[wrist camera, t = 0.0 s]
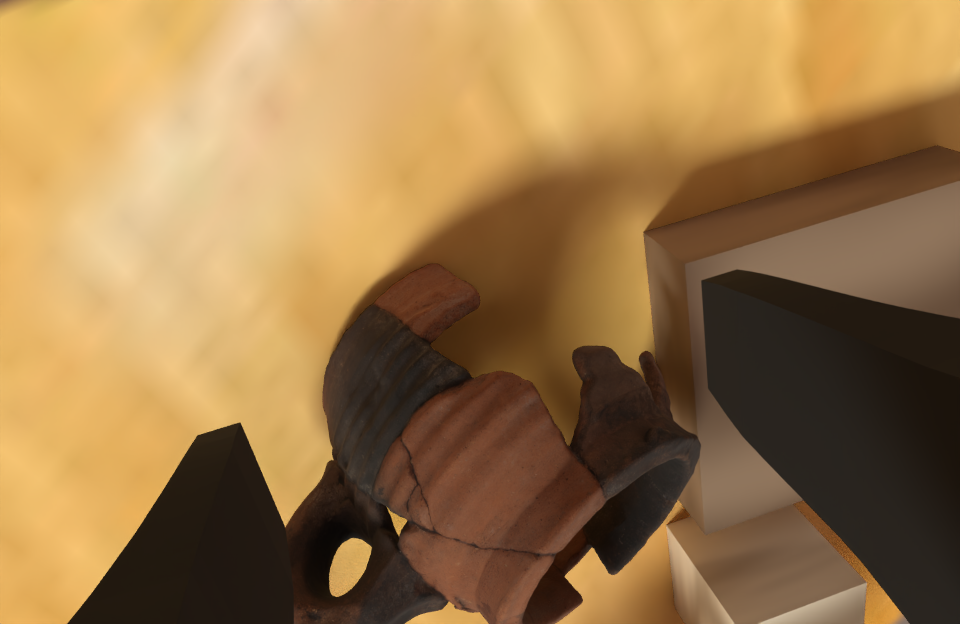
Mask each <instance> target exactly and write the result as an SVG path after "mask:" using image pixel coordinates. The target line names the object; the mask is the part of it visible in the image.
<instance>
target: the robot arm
mask: <svg viewBox="0 0 960 624" xmlns="http://www.w3.org/2000/svg"><path fill="white" fill-rule="evenodd" d="M701 287H702V303H703V319H704V334H705V350H706V366H707V382H708V389H709V391H710V392H711V394H712V395H713V396H714V398H715V399H716V401H717V402H718V404H719V405H720V407H721V408H722V409H723V411H724V412H725V414H726V415H727V417H728V418H729V419H730V421H731V422H732V423H733V425H734V426H735V427H736V429H737V430H738V431H739V433H740V434H741V435H742V437H743V438H744V439H745V440H746V441H747V442H748V443H749V444H750V445H751V446H752V447H753V448H754V449H755V450H756V451H757V453H758V454H759V455H760V456H761V457H762V458H763V459H764V460H765V461H766V462H767V463H768V464H769V465H770V466H771V467H772V468H773V469H774V470H775V471H776V472H777V473H778V474H779V476H780V477H781V478H782V479H783V480H784V481H785V482H786V483H787V484H788V485H789V486H790V487H791V488H792V489H793V490H794V491H795V492H796V493H797V494H798V495H799V496H800V497H801V498H802V499H803V500H804V501H805V502H806V503H807V504H808V505H809V506H810V507H811V508H812V509H813V510H814V511H815V512H816V513H817V514H818V516H819V517H820V518H821V519H822V520H823V521H824V522H825V523H826V524H827V525H828V526H829V527H830V528H831V529H832V530H833V531H834V532H835V533H836V534H837V535H838V536H839V537H840V538H841V539H842V540H843V542H844V543H845V544H846V545H847V546H848V547H849V548H850V549H851V551H852V552H853V553H854V554H855V555H856V556H857V557H858V558H859V559H860V561H861V562H862V563H863V564H864V566H865V567H866V568H867V569H868V571H869V572H870V573H871V575H872V576H873V577H874V578H875V580H876V581H877V582H878V583H879V585H880V586H881V587H882V588H883V590H884V591H885V592H886V594H887V595H888V596H889V597H890V599H891V600H892V601H893V602H894V604H895V605H896V606H897V608H898V609H899V610H900V611H901V613H902V614H903V615H904V617H905V618H906V619H907V621H908V622H909V623H910V624H960V318H955V317H949V316H944V315H939V314H934V313H929V312H924V311H919V310H914V309H909V308H904V307H899V306H895V305H890V304H886V303H881V302H877V301H872V300H868V299H864V298H860V297H856V296H852V295H848V294H844V293H839V292H836V291H832V290H828V289H824V288H820V287H816V286H812V285H808V284H804V283H800V282H796V281H792V280H788V279H784V278H780V277H775V276H771V275H767V274H762V273H757V272H752V271H745V270H738V269H736V270H733V271H730V272H727V273H723V274H720V275H717V276H714V277H710V278H707V279H704V280H701ZM67 624H294V588H293V581H292V573H291V565H290V557H289V550H288V543H287V537H286V530H285V526H284V524H283V521H282V519H281V517H280V514H279V512H278V510H277V507H276V505H275V502H274V500H273V498H272V495H271V493H270V491H269V488H268V486H267V484H266V481H265V479H264V477H263V474H262V472H261V470H260V467H259V465H258V463H257V460H256V458H255V456H254V453H253V451H252V449H251V446H250V444H249V441H248V439H247V437H246V434H245V432H244V430H243V427H242V425H241V423H236V424H233V425H230V426H227V427H223V428H220V429H217V430H214V431H210V432H207V433H204V434H201V435H198V436H197V437H196V439H195V440H194V442H193V443H192V445H191V446H190V448H189V449H188V451H187V453H186V454H185V456H184V457H183V459H182V461H181V462H180V464H179V466H178V467H177V469H176V470H175V472H174V474H173V475H172V477H171V478H170V480H169V482H168V483H167V485H166V487H165V488H164V490H163V491H162V493H161V494H160V496H159V497H158V499H157V501H156V502H155V504H154V505H153V507H152V508H151V510H150V511H149V513H148V514H147V516H146V518H145V519H144V521H143V522H142V524H141V525H140V527H139V528H138V530H137V531H136V533H135V534H134V536H133V537H132V539H131V540H130V541H129V543H128V544H127V545H126V547H125V548H124V550H123V551H122V552H121V554H120V555H119V556H118V558H117V559H116V561H115V562H114V563H113V565H112V566H111V568H110V569H109V570H108V572H107V573H106V574H105V576H104V577H103V579H102V580H101V581H100V583H99V584H98V585H97V587H96V588H95V590H94V591H93V592H92V594H91V595H90V596H89V597H88V599H87V600H86V601H85V602H84V604H83V605H82V606H81V608H80V609H79V610H78V611H77V612H76V614H75V615H74V616H73V617H72V619H71V620H70V621H69V622H68V623H67Z"/></svg>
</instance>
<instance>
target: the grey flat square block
mask: <svg viewBox="0 0 960 624" xmlns="http://www.w3.org/2000/svg"><path fill="white" fill-rule="evenodd" d="M643 233H644V243H645V253H646V263H647V273H648V283H649V293H650V303H651V313H652V323H653V333H654V343H655V353H656V363H657V366H658V368H659V370H660V372H661V373H662V376H663V379H664V382H665V386H666V390H667V393H668V395H669V399H670V402H671V404H670V411H671V413H672V415H673V420H674V421H675V422H676V423H677V424H678V425H679V426H681V427H682V428H683V429H684V430H686V431H688V432H690V433H693V434H695V435H696V436H697V437H698V439H699V441H700V443H701V450H700V457H699V459H698V462H697V464H696V466H695V470H694V473H693V475H692V476H691V478H690V480H689V481H688V483H687V485H686V486H685V488H684V490H683V491H682V493H681V495H680V497H679V498H678V500H679V501H680V502H681V504H682V505H683V506H684V508H685V509H686V510H687V512H688V513H689V514H690V516H691V517H692V518H693V520H694V521H695V522H696V524H697V525H698V526H699V528H700V529H701V530H702V532H703V533H704V534H705V535H708V534H711V533H713V532H716V531H719V530H722V529H725V528H727V527H730V526H733V525H736V524H739V523H741V522H744V521H747V520H750V519H753V518H755V517H758V516H761V515H764V514H767V513H769V512H772V511H775V510H778V509H781V508H783V507H786V506H789V505H792V504H795V503H798V502H800V501H803V499H802V498H801V497H800V496H799V495H798V494H797V493H796V492H795V491H794V490H793V489H792V488H791V487H790V486H789V485H788V484H787V483H786V482H785V481H784V480H783V479H782V478H781V477H780V476H779V474H778V473H777V472H776V471H775V470H774V469H773V468H772V467H771V466H770V465H769V464H768V463H767V462H766V461H765V460H764V459H763V458H762V457H761V456H760V455H759V454H758V453H757V451H756V450H755V449H754V448H753V447H752V446H751V445H750V444H749V443H748V442H747V441H746V440H745V439H744V438H743V437H742V435H741V434H740V433H739V431H738V430H737V429H736V427H735V426H734V425H733V423H732V422H731V421H730V419H729V418H728V417H727V415H726V414H725V412H724V411H723V409H722V408H721V407H720V405H719V404H718V402H717V401H716V399H715V398H714V396H713V395H712V394H711V392H710V391H709V389H708V382H707V366H706V350H705V334H704V319H703V303H702V287H701V280H704V279H707V278H710V277H714V276H717V275H720V274H723V273H727V272H730V271H733V270H736V269H738V270H745V271H752V272H757V273H762V274H767V275H771V276H775V277H780V278H784V279H788V280H792V281H796V282H800V283H804V284H808V285H812V286H816V287H820V288H824V289H828V290H832V291H836V292H839V293H844V294H848V295H852V296H856V297H860V298H864V299H868V300H872V301H877V302H881V303H886V304H890V305H895V306H899V307H904V308H909V309H914V310H919V311H924V312H929V313H934V314H939V315H944V316H949V317H955V318H960V152H957V151H954V150H951V149H947V148H944V147H941V146H938V145H937V146H933V147H930V148H927V149H923V150H920V151H917V152H913V153H910V154H906V155H903V156H900V157H896V158H893V159H889V160H886V161H883V162H879V163H876V164H873V165H869V166H866V167H862V168H859V169H856V170H852V171H849V172H845V173H842V174H839V175H835V176H832V177H829V178H825V179H822V180H818V181H815V182H812V183H808V184H805V185H801V186H798V187H795V188H791V189H788V190H785V191H781V192H778V193H774V194H771V195H768V196H764V197H761V198H757V199H754V200H751V201H747V202H744V203H741V204H737V205H734V206H730V207H727V208H724V209H720V210H717V211H713V212H710V213H707V214H703V215H700V216H696V217H693V218H690V219H686V220H683V221H680V222H676V223H673V224H669V225H666V226H663V227H659V228H656V229H652V230H649V231H646V232H643Z"/></svg>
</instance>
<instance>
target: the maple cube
mask: <svg viewBox="0 0 960 624" xmlns="http://www.w3.org/2000/svg"><path fill="white" fill-rule="evenodd" d="M666 527H667V537H668V546H669V556H670V565H671V575H672V584H673V594H674V603H675V609H676V611H677V612H678V614H679V615H680V617H681V619H682V620H683V622H684V623H685V624H864V616H865V601H866V587H867V582H866V581H865V580H864V579H863V578H862V577H861V576H860V575H859V574H858V573H857V572H856V571H855V569H854V568H853V567H852V566H851V565H850V564H849V563H848V562H847V561H846V560H845V559H844V558H843V557H842V556H841V555H840V554H839V552H838V551H837V550H836V549H835V548H834V547H833V546H832V545H831V544H830V543H829V542H828V541H827V540H826V539H825V538H824V537H823V535H822V534H821V533H820V532H819V531H818V530H817V529H816V528H815V527H814V526H813V525H812V524H811V523H810V522H809V521H808V519H807V518H806V517H805V516H804V515H803V514H802V513H801V512H800V511H799V510H798V509H797V508H796V507H795V506H794V505H793V504H792V505H789V506H786V507H783V508H781V509H778V510H775V511H772V512H769V513H767V514H764V515H761V516H758V517H755V518H753V519H750V520H747V521H744V522H741V523H739V524H736V525H733V526H730V527H727V528H725V529H722V530H719V531H716V532H713V533H711V534H708V535H705V534H704V533H703V532H702V530H701V529H700V528H699V526H698V525H697V524H696V522H695V521H694V520H693V518H692V517H691V516H690V517H687V518H685V519H682V520H679V521H676V522H673V523H670V524H668V525H666Z"/></svg>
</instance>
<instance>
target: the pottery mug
mask: <svg viewBox="0 0 960 624" xmlns="http://www.w3.org/2000/svg"><path fill="white" fill-rule="evenodd" d="M479 305H480V296H479V293H478V292H477V290H476V289H475V288H474V287H473V286H472V285H470V284H469V283H467V282H466V281H463V280H460V279H458V278H457V277H456V276H454V275H453V274H452V273H451V272H449V271H447V270H446V269H444V268H443V267H442V266H440V265H439V264H429V265H427V266H425V267H423V268H421V269H418V270H416V271H414V272H411V273H410V274H408V275H407V276H406V277H404V278H403V279H402V280H400V281H398V282H396V283H395V284H394V285H392V286H391V287H390V288H389V289H388V290H387V291H386V292H385V293H384V294H383V295H381V296H380V297H379V298H378V299H377V300H376V301H375V302H374V303H373V304H372V305H370V306H369V307H368V308H366V309H365V311H364V312H363V313H362V314H361V315H360V316H359V317H358V319H357V320H356V321H355V323H354V324H353V325H352V326H351V327H350V328H349V329H347V331H346V332H345V333H344V335H343V337H342V339H341V341H340V343H339V345H338V346H337V348H336V350H335V351H334V352H333V354H332V356H331V358H330V361H329V363H328V365H327V367H326V371H325V375H324V385H323V408H324V411H325V414H326V416H327V423H328V429H329V437H330V442H331V445H332V447H333V449H332V455H333V459H334V461H333V460H331V461H329V462H328V463H327V466H326V469H325V472H324V475H323V477H322V479H321V480H320V482H319V483H318V485H317V486H316V487H315V488H314V490H313V491H312V492H311V493H310V494H309V495H308V496H307V497H306V498H305V500H304V501H303V502H302V504H301V505H300V506H299V507H298V509H297V510H296V511H295V513H294V514H293V516H292V517H291V519H290V521H289V522H288V524H287V526H286V528H285V530H286V537H287V543H288V550H289V557H290V565H291V573H292V581H293V588H294V624H405V623H406V622H407V621H409V620H411V619H412V618H414V617H416V616H418V615H420V614H423V613H427V612H433V611H438V610H442V609H443V608H444V607H445V606H446V605H447V603H448V601H449V602H451V603H452V604H454V605H455V606H454V607H455V608H456V609H459V610H464V611H467V612H472V613H474V612H480V613H481V614H482V616H483V617H484V618H485V619H486V620H487V622H488V623H489V624H555V623H557V622H558V621H560V620H561V619H563V618H564V617H565V616H567V615H568V614H569V613H570V612H572V611H573V610H574V609H575V608H577V607H578V606H579V605H580V604H581V603H582V601H583V599H582V596H581V595H580V594H579V593H578V591H576V590H575V589H574V588H573V586H572V585H571V584H570V583H569V581H568V580H567V579H566V578H565V575H566V574H567V573H568V572H569V571H570V570H571V569H572V568H573V567H574V566H575V565H576V564H577V563H578V562H579V561H580V560H581V559H582V558H583V557H584V556H585V555H586V553H587V552H588V551H589V550H590V549H591V548H594V549H595V551H596V553H597V554H598V556H599V558H600V560H601V561H602V563H603V564H604V566H605V567H606V569H607V571H608V573H609V574H611V575H615V574H617V573H618V572H619V571H620V570H621V569H622V568H623V567H624V566H625V565H626V564H627V563H628V562H629V561H631V560H632V558H633V557H634V556H635V555H636V554H637V552H638V551H639V550H640V549H641V548H642V547H643V546H644V545H645V544H646V542H647V540H648V538H649V537H650V536H651V535H652V534H653V533H654V532H655V531H656V530H657V529H658V528H659V526H660V525H661V524H662V523H663V521H664V520H665V519H666V517H667V516H668V514H669V513H670V511H671V510H672V508H673V506H674V505H675V503H676V502H677V500H678V498H679V497H680V495H681V493H682V491H683V490H684V488H685V486H686V485H687V483H688V481H689V480H690V478H691V476H692V475H693V473H694V470H695V466H696V464H697V462H698V459H699V457H700V450H701V443H700V441H699V439H698V437H697V436H696V435H695V434H693V433H690V432H688V431H686V430H684V429H683V428H682V427H681V426H679V425H678V424H677V423H676V422H675V421H674V420H673V415H672V413H671V411H670V404H671V402H670V399H669V395H668V393H667V390H666V386H665V382H664V379H663V376H662V373H661V372H660V370H659V368H658V366H657V364H656V362H655V360H654V358H653V356H652V354H651V353H650V352H648V351H645V352H643V353H641V355H640V356H639V362H640V365H641V368H642V370H643V372H644V376H645V381H646V383H645V382H644V380H643V378H642V376H641V375H640V374H639V373H638V372H636V371H635V370H634V369H632V368H630V367H628V366H626V365H624V364H623V363H622V362H621V360H620V359H619V357H618V355H617V354H616V353H615V352H614V351H613V350H612V349H611V348H609V347H605V346H582V347H580V348H577V349H576V350H574V352H573V354H572V360H573V364H574V367H575V369H576V371H577V373H578V375H579V377H580V378H581V380H582V381H583V384H582V387H581V392H580V396H581V405H580V412H579V419H578V423H577V425H576V428H575V431H574V436H573V439H572V442H571V444H570V446H568V445H567V444H566V442H565V439H564V437H563V435H562V433H561V431H560V429H559V428H558V427H557V426H556V424H555V423H554V421H553V419H552V417H551V415H550V413H549V411H548V409H547V408H546V406H545V405H544V403H543V401H542V399H541V397H540V395H539V393H538V391H537V389H536V388H535V386H534V385H533V383H532V382H530V381H528V380H524V379H522V378H521V377H519V376H517V375H515V374H513V373H508V372H504V371H496V372H492V373H488V374H483V375H481V376H479V377H476V378H472V377H471V375H470V374H469V372H468V371H467V370H465V369H464V368H463V367H461V366H459V365H457V364H455V363H454V362H452V361H450V360H449V359H447V358H445V357H444V356H443V355H441V354H440V353H439V352H437V351H436V350H434V349H432V347H431V346H430V344H431V343H432V342H433V341H434V340H435V339H436V338H438V337H439V335H440V334H441V333H442V332H443V331H444V330H445V329H447V328H449V327H450V326H451V325H452V324H453V323H455V322H456V321H458V320H460V319H461V318H462V317H464V316H465V315H467V314H469V313H470V312H472V311H474V310H476V309H477V308H478V307H479ZM386 506H387V507H388V508H389V509H390V511H392V512H393V513H395V514H397V515H399V516H400V517H403V518H405V519H407V520H408V521H407V523H406V524H405V525H404V527H403V529H402V530H401V533H400V536H398V534H397V532H396V530H395V528H394V526H393V522H392V519H391V516H390V514H389V512H388V509H387V507H386ZM350 538H358V539H361V540H363V541H365V542H366V543H367V544H369V545H370V546H371V547H372V550H371V555H370V558H369V561H368V564H367V567H366V570H365V572H364V573H363V575H362V577H361V578H360V579H359V581H358V582H357V584H356V585H355V586H354V587H353V588H352V589H351V590H350V591H348V592H347V593H346V594H344V595H342V596H339V597H335V596H332V595H331V593H330V589H329V572H330V567H331V564H332V561H333V558H334V555H335V553H336V551H337V549H338V548H339V547H340V545H341V544H342V543H343V542H345V541H347V540H348V539H350Z"/></svg>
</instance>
